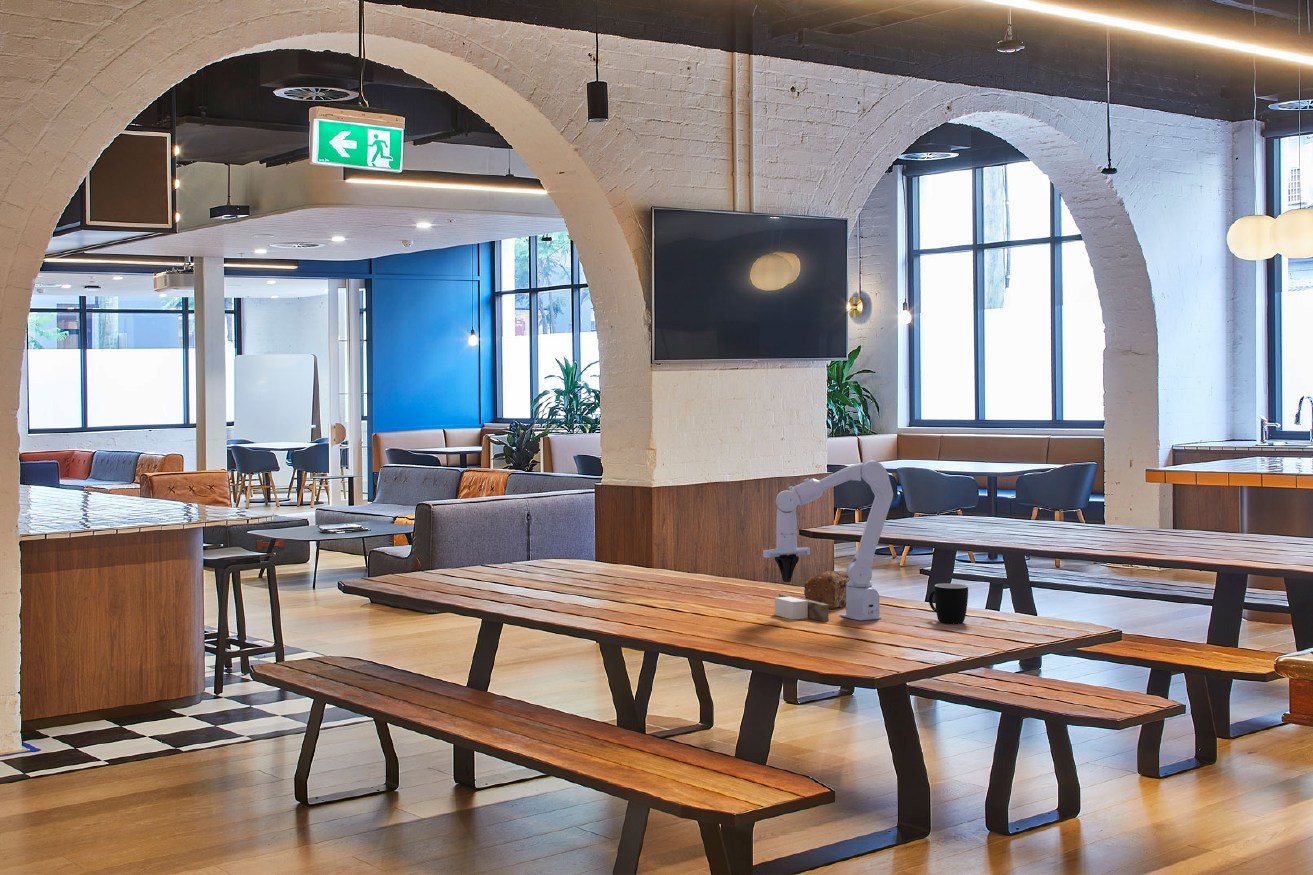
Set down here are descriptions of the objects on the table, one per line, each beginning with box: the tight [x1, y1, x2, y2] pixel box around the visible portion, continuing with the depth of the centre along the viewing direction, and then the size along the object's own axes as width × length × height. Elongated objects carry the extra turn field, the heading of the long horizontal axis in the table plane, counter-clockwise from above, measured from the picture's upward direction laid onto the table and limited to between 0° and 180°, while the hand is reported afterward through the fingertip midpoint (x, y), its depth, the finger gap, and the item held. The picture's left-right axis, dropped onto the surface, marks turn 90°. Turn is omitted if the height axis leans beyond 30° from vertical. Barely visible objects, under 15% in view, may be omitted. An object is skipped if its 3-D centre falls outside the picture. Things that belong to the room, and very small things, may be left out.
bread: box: [803, 570, 850, 610], centre depth 382 cm, size 19×11×10 cm, turn 148°
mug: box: [928, 583, 969, 625], centre depth 351 cm, size 12×9×10 cm
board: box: [778, 593, 830, 622], centre depth 362 cm, size 22×2×4 cm, turn 27°
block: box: [774, 596, 808, 620], centre depth 360 cm, size 9×5×5 cm, turn 28°
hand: (786, 581), depth 359 cm, fingers closed
